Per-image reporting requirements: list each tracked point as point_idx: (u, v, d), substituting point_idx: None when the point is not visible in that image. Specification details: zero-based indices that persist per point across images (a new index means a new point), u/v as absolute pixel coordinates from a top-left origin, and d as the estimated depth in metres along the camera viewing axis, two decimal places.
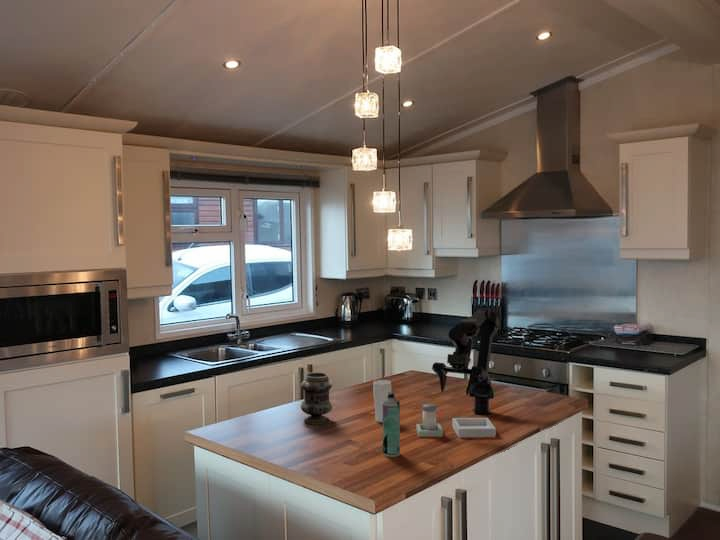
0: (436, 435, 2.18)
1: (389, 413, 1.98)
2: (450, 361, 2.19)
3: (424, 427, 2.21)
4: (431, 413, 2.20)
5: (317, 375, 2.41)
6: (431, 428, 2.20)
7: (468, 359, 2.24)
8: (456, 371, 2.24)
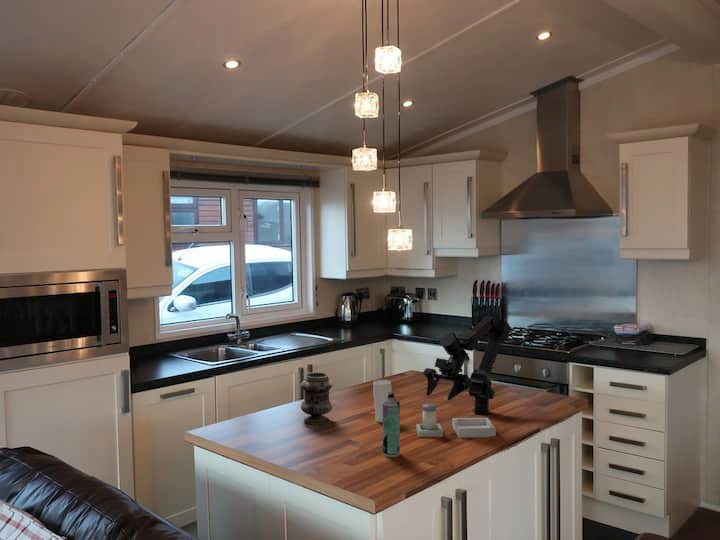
0: (436, 435, 2.18)
1: (389, 413, 1.98)
2: (437, 364, 2.26)
3: (424, 427, 2.21)
4: (431, 413, 2.20)
5: (317, 375, 2.41)
6: (431, 428, 2.20)
7: (458, 368, 2.30)
8: (444, 378, 2.30)
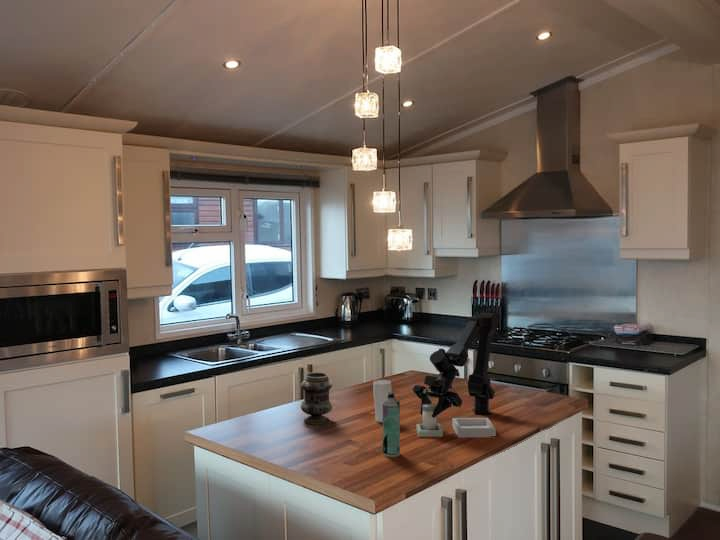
0: (436, 435, 2.18)
1: (389, 413, 1.98)
2: (426, 382, 2.22)
3: (424, 427, 2.21)
4: (431, 413, 2.20)
5: (317, 375, 2.41)
6: (431, 428, 2.20)
7: (448, 385, 2.25)
8: (434, 395, 2.25)
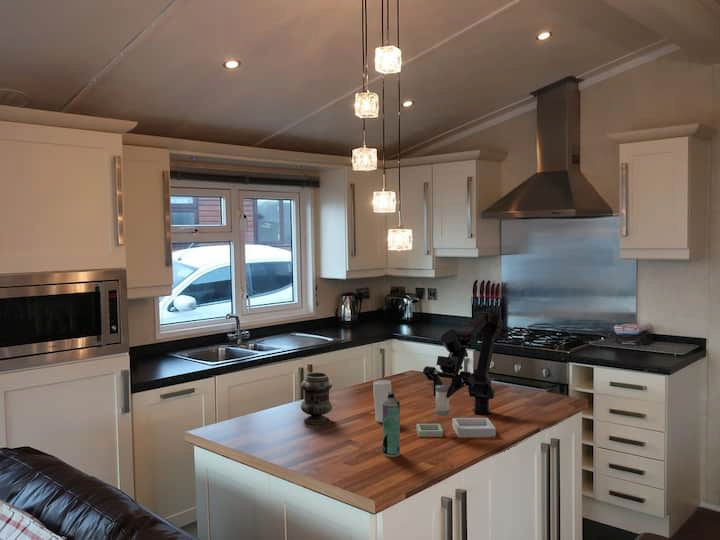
0: (436, 435, 2.18)
1: (389, 413, 1.98)
2: (439, 362, 2.21)
3: (438, 408, 2.20)
4: (445, 393, 2.19)
5: (317, 375, 2.41)
6: (445, 408, 2.20)
7: (459, 365, 2.25)
8: (446, 376, 2.25)
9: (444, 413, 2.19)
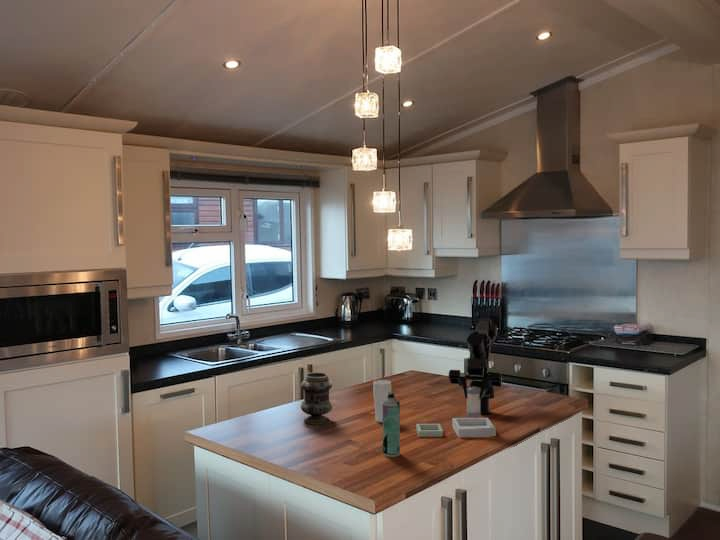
0: (436, 435, 2.18)
1: (389, 413, 1.98)
2: (471, 365, 2.22)
3: (471, 410, 2.21)
4: (478, 395, 2.21)
5: (317, 375, 2.41)
6: (478, 410, 2.22)
7: (483, 367, 2.29)
8: (472, 378, 2.27)
9: (477, 415, 2.21)
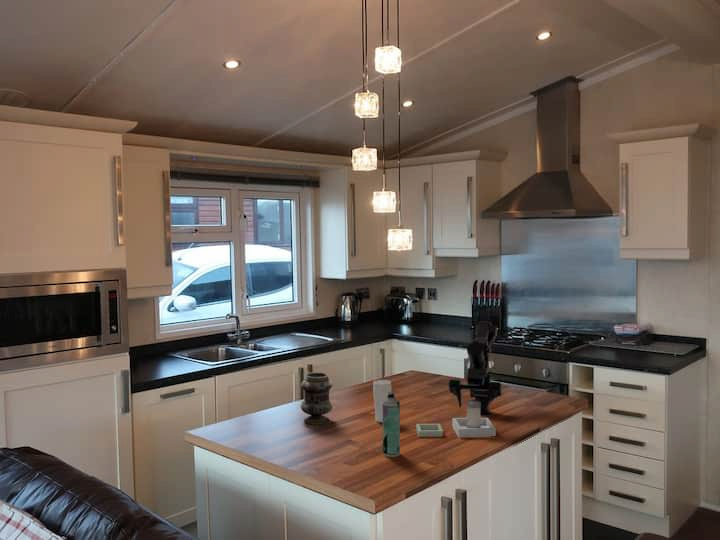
0: (436, 435, 2.18)
1: (389, 413, 1.98)
2: (471, 375, 2.22)
3: (471, 424, 2.22)
4: (478, 409, 2.22)
5: (317, 375, 2.41)
6: (478, 424, 2.22)
7: (483, 376, 2.29)
8: (472, 387, 2.27)
9: None
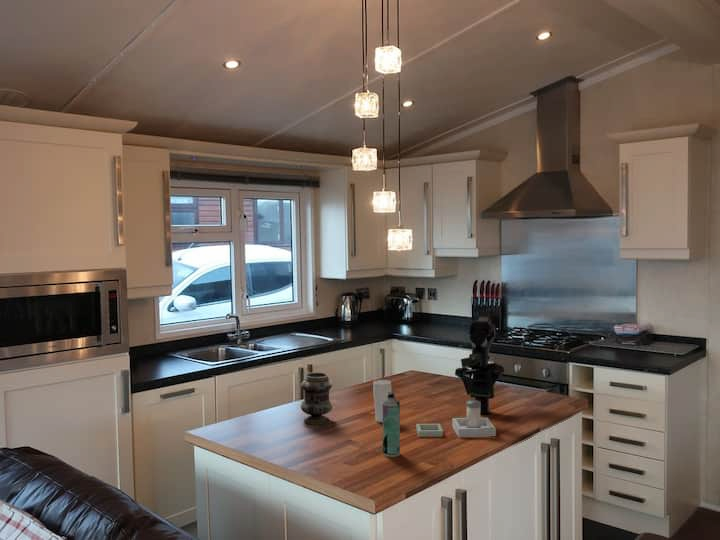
0: (436, 435, 2.18)
1: (389, 413, 1.98)
2: (464, 365, 2.28)
3: (471, 424, 2.22)
4: (478, 409, 2.22)
5: (317, 375, 2.41)
6: (478, 424, 2.22)
7: (484, 358, 2.32)
8: (476, 372, 2.32)
9: None
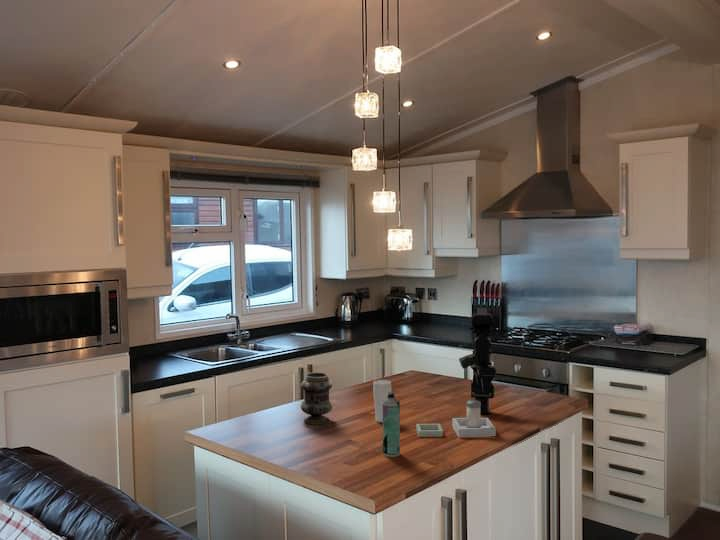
0: (436, 435, 2.18)
1: (389, 413, 1.98)
2: (461, 365, 2.32)
3: (471, 424, 2.22)
4: (478, 409, 2.21)
5: (317, 375, 2.41)
6: (478, 424, 2.22)
7: (482, 356, 2.29)
8: None
9: None
